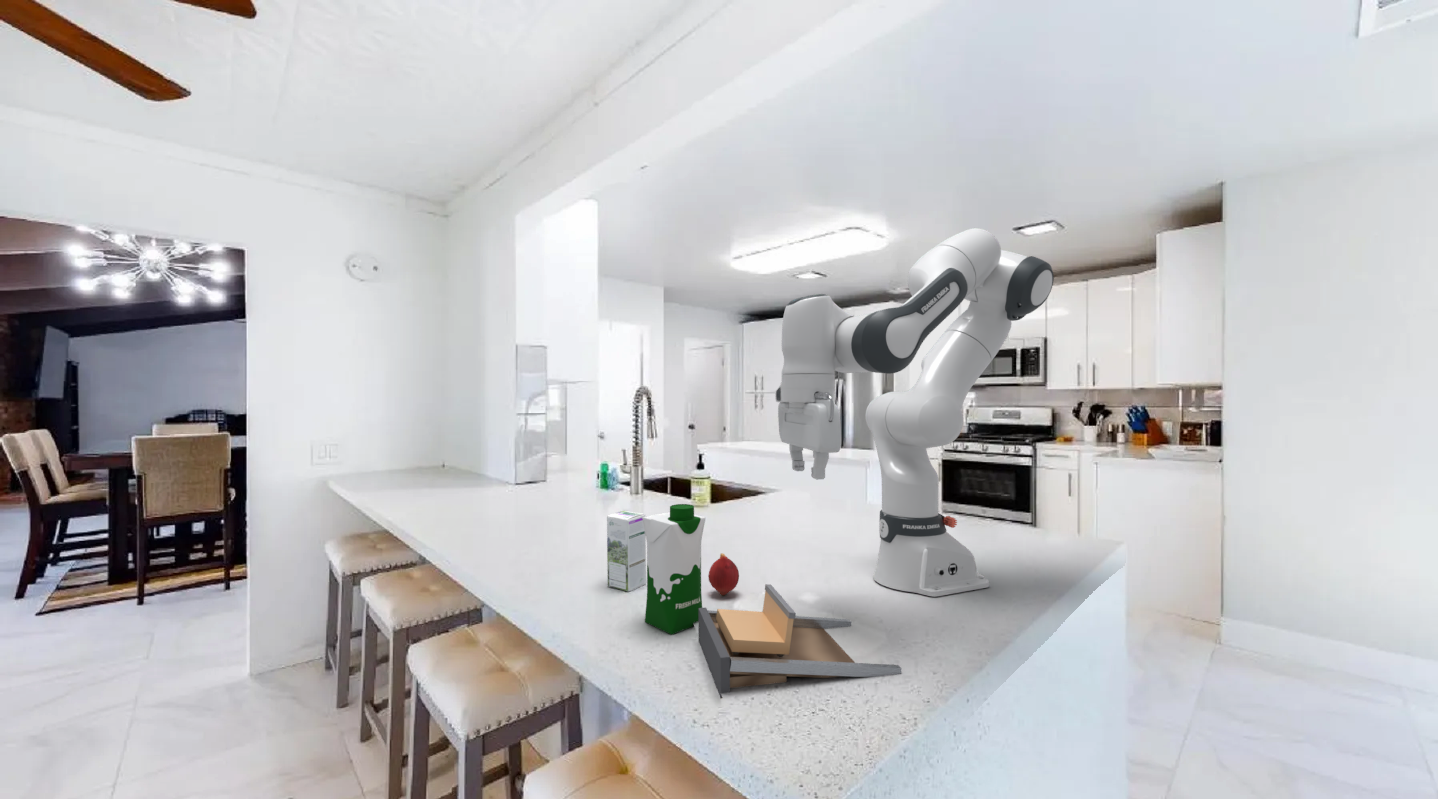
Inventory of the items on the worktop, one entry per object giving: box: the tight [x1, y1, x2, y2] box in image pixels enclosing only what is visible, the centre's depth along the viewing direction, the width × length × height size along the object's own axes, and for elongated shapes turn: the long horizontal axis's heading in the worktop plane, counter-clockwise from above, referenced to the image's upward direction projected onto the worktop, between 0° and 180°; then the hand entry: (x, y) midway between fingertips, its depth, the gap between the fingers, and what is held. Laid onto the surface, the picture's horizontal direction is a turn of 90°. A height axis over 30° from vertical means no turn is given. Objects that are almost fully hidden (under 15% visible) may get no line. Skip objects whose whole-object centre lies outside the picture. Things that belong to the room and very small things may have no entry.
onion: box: [708, 553, 740, 596], centre depth 110 cm, size 6×6×8 cm
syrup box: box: [606, 510, 647, 592], centre depth 115 cm, size 6×6×14 cm
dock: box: [697, 607, 902, 699], centre depth 84 cm, size 25×17×6 cm
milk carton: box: [642, 503, 706, 636], centre depth 97 cm, size 9×9×20 cm
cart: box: [716, 583, 797, 657], centre depth 82 cm, size 9×12×7 cm
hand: (807, 474), depth 96 cm, fingers open, 8 cm apart
